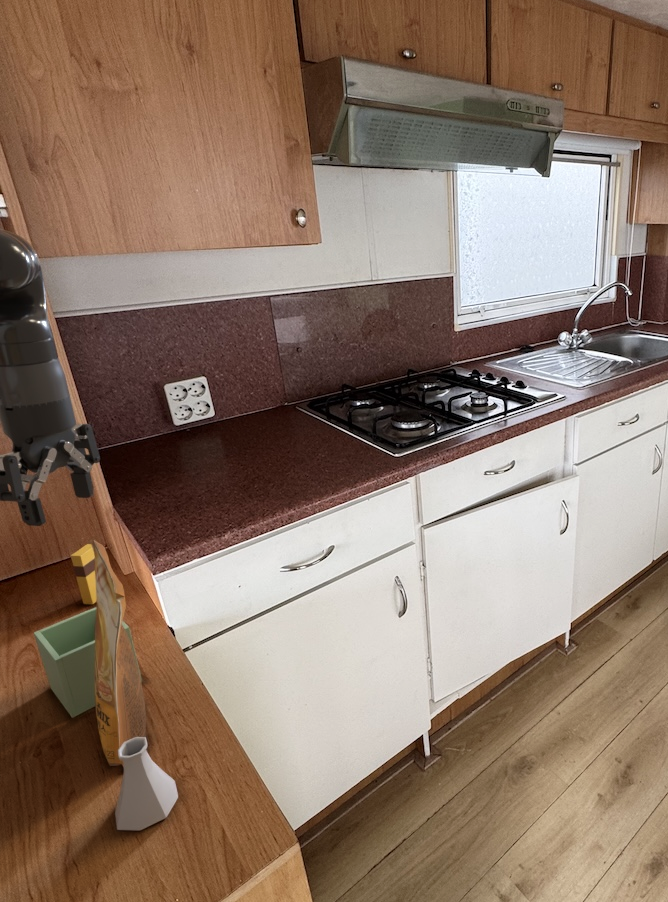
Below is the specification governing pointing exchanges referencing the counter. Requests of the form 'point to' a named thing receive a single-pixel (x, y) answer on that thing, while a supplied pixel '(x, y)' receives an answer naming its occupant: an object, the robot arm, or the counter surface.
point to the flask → (142, 788)
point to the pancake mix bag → (114, 665)
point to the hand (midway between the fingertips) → (61, 510)
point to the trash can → (72, 660)
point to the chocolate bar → (85, 573)
